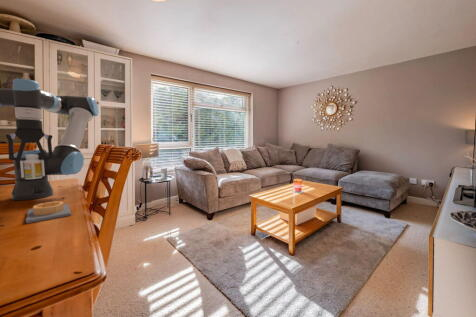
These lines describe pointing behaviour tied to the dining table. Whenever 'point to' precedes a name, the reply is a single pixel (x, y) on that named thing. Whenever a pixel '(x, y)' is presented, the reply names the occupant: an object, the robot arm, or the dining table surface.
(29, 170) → the supplement bottle
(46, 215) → the socket plate
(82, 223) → the dining table surface
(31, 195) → the robot arm
